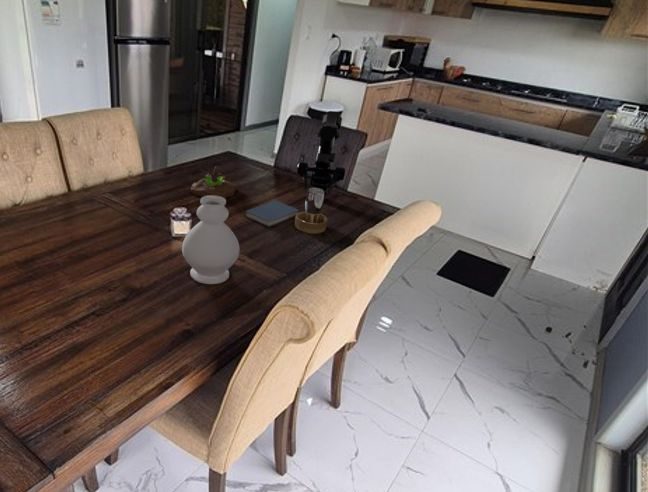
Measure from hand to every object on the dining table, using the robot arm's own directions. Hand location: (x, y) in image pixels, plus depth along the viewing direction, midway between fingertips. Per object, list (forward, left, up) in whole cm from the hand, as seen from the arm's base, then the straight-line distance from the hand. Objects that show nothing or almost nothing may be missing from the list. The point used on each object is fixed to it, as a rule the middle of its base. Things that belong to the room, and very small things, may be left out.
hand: (317, 190), depth 181 cm
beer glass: (+5, -4, -13) cm, 15 cm away
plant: (-42, -25, -13) cm, 51 cm away
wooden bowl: (+5, -4, -13) cm, 14 cm away
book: (-9, -14, -13) cm, 21 cm away
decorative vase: (+26, -57, -13) cm, 64 cm away
